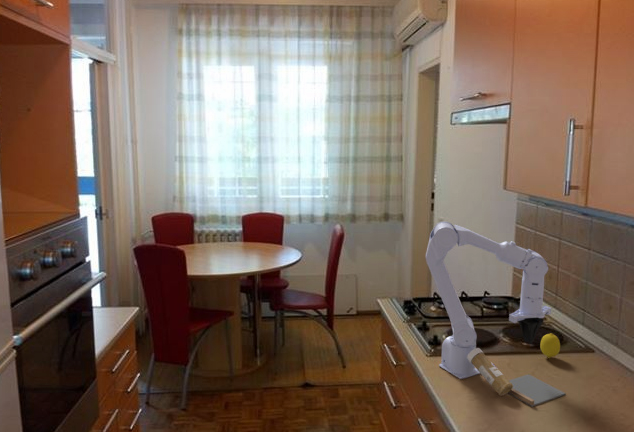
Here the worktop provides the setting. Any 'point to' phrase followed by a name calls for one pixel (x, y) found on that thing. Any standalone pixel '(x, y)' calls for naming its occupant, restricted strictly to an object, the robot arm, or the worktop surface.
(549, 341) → the lemon
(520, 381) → the mat
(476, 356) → the sprinkles bottle
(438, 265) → the robot arm
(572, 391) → the worktop surface
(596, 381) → the worktop surface
